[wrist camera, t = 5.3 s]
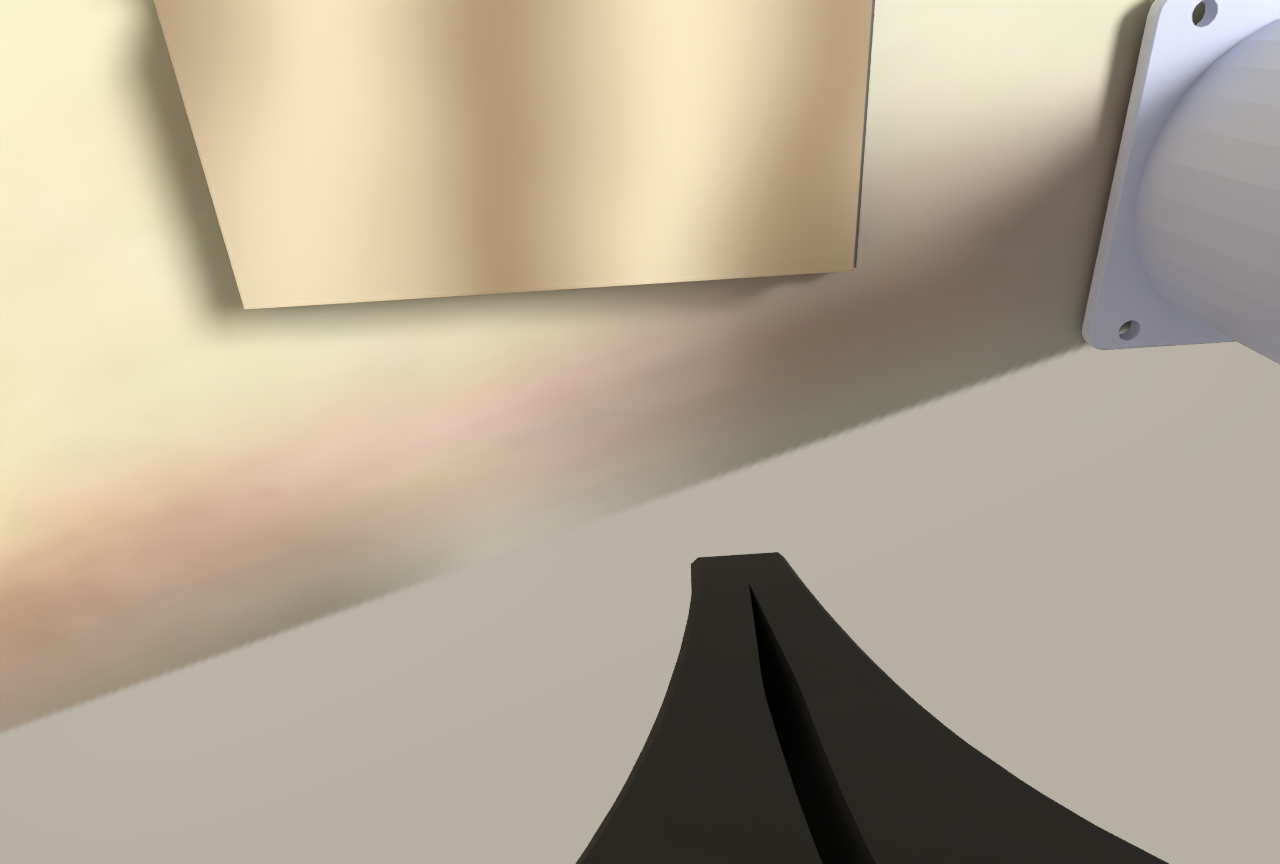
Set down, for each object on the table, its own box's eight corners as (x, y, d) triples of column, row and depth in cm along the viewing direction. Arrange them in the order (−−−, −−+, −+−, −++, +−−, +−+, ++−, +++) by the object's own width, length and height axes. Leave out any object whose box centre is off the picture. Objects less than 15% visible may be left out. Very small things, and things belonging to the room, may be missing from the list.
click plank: (856, -99, 16) (879, -108, 14) (835, 251, 19) (852, 271, 18) (174, -59, 16) (135, -64, 14) (269, 287, 19) (244, 309, 17)
